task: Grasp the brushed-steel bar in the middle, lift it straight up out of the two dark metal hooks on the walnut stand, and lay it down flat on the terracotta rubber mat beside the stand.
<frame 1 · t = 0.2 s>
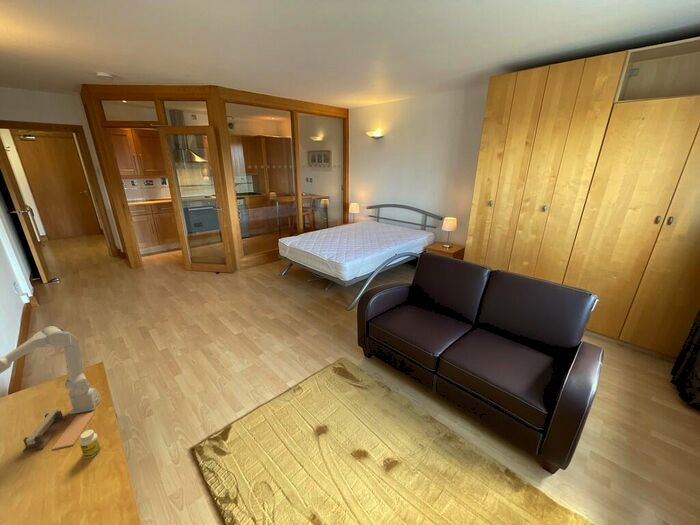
steel rail: (43, 426, 121), point 4 cm above the table, touching hook stand
mat: (75, 430, 125), on the table
hook stand: (46, 434, 123), on the table
supplement bottle: (92, 452, 115), on the table
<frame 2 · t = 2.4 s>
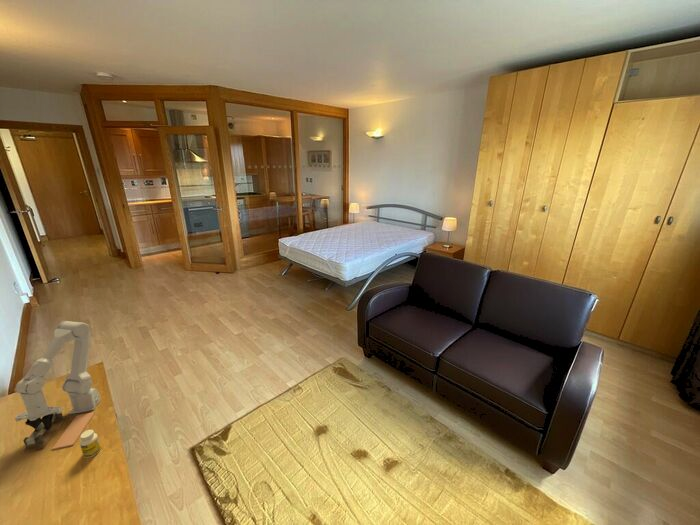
hand: (44, 429, 122), 3 cm above the table, tool pointing down, fingers closed on steel rail, 2 cm apart
steel rail: (43, 426, 121), point 4 cm above the table, touching gripper, hook stand
everything else where it was.
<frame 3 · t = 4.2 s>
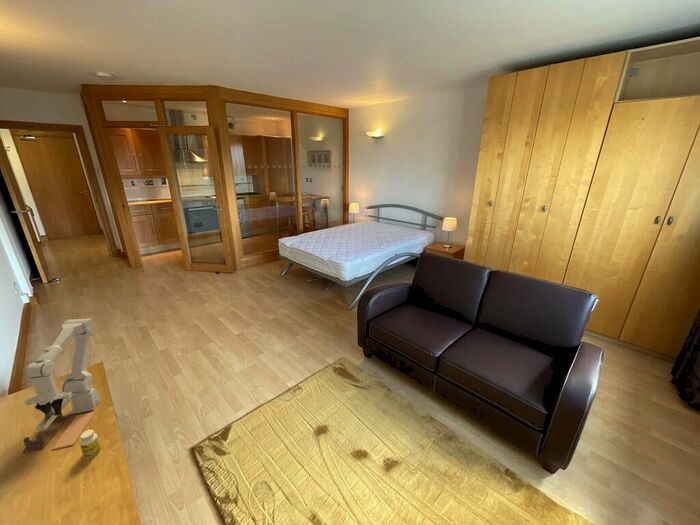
hand: (54, 414, 121), 10 cm above the table, tool pointing down, fingers closed on steel rail, 2 cm apart
steel rail: (53, 413, 121), point 10 cm above the table, touching gripper
everything else where it was.
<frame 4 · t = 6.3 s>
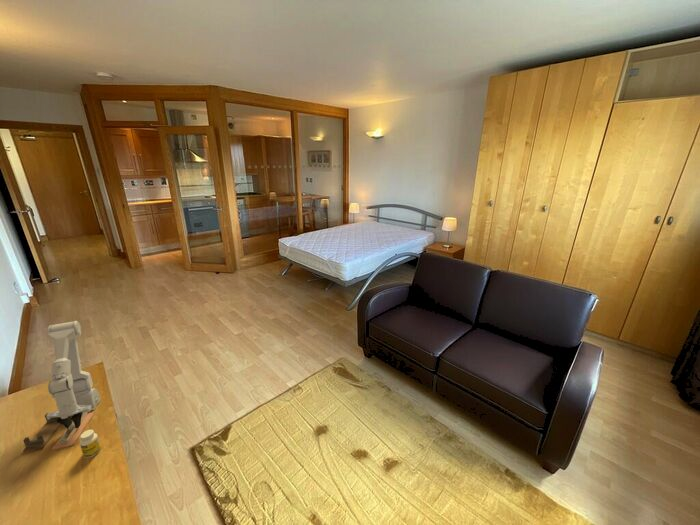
hand: (74, 427, 125), 2 cm above the table, tool pointing down, fingers closed on steel rail, 2 cm apart
steel rail: (74, 426, 125), point 2 cm above the table, touching gripper, mat
everything else where it was.
when the fingers open (2 cm above the table, at t = 6.4 s): steel rail stays where it is, resting on mat.
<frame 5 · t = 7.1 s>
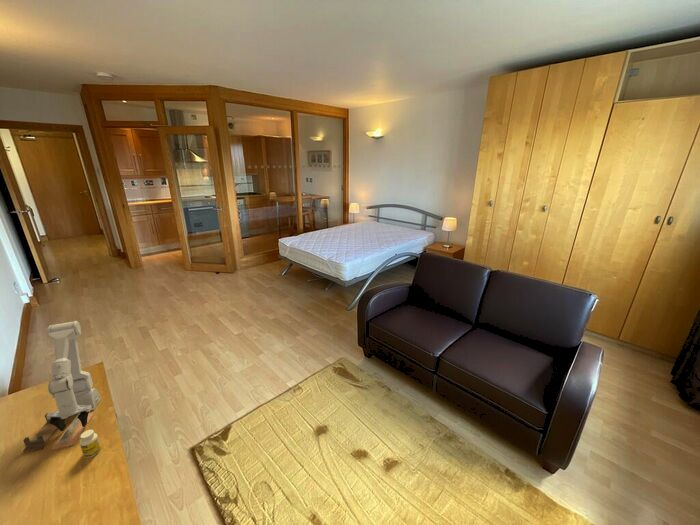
hand: (74, 427, 125), 2 cm above the table, tool pointing down, fingers open, 7 cm apart
steel rail: (74, 426, 125), point 2 cm above the table, touching mat
everything else where it was.
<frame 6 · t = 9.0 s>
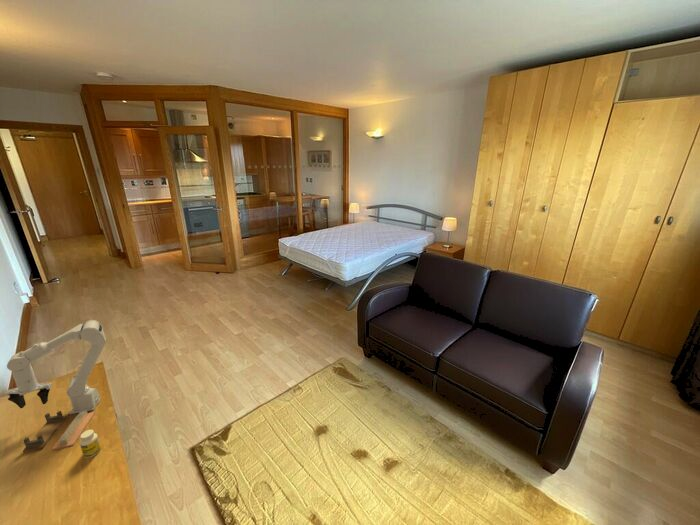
hand: (34, 404, 126), 9 cm above the table, tool pointing down, fingers open, 7 cm apart
nothing on the table moved.
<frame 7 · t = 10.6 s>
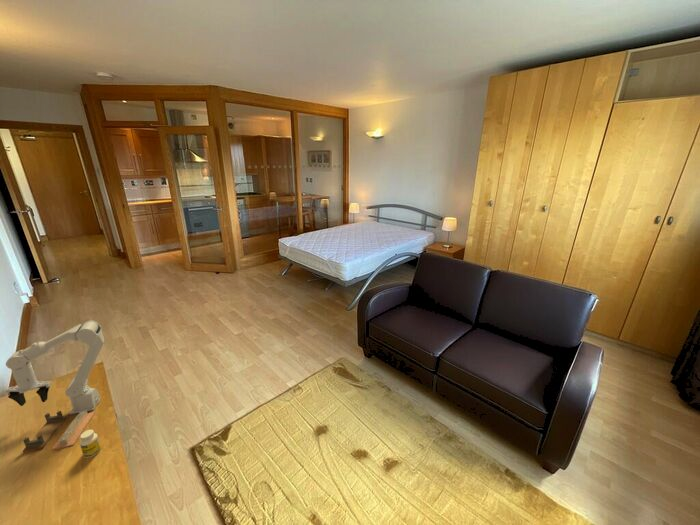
hand: (34, 402, 128), 9 cm above the table, tool pointing down, fingers open, 7 cm apart
nothing on the table moved.
at the end: steel rail 0.0 cm from the target spot, point 1.8 cm above the table; steel rail touching mat; the gripper is holding nothing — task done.
